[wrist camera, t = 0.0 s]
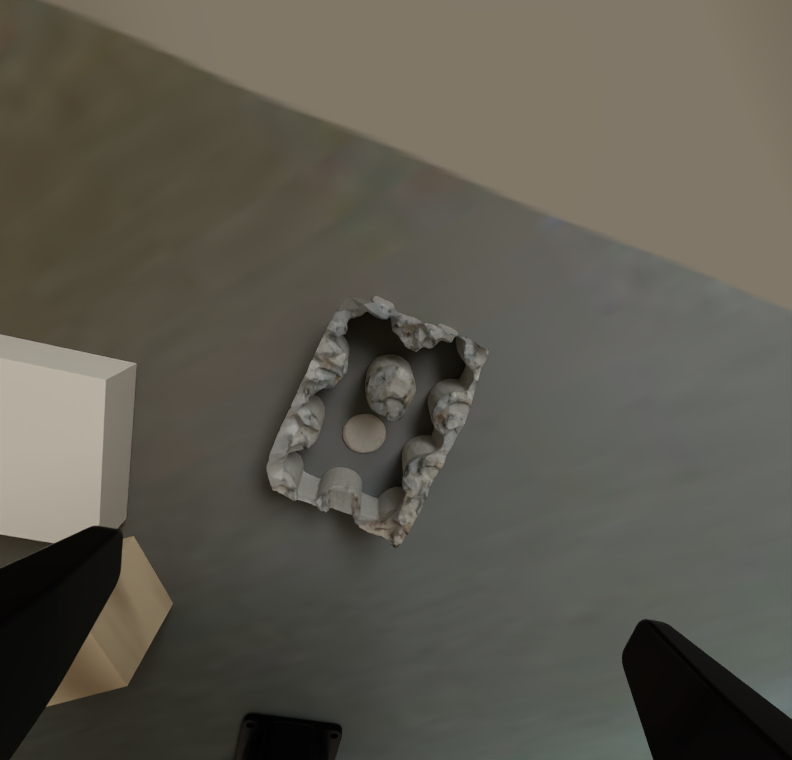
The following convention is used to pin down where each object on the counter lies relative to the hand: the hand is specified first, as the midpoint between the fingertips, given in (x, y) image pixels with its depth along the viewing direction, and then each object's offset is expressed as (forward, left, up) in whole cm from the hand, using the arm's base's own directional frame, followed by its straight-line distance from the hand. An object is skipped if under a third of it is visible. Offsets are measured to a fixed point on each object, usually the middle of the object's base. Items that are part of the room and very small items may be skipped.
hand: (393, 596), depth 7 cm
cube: (-16, +12, -15) cm, 25 cm away
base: (-7, +16, -15) cm, 23 cm away
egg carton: (-2, 0, -15) cm, 15 cm away
